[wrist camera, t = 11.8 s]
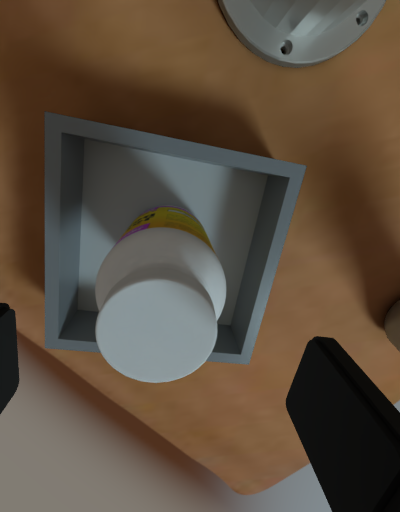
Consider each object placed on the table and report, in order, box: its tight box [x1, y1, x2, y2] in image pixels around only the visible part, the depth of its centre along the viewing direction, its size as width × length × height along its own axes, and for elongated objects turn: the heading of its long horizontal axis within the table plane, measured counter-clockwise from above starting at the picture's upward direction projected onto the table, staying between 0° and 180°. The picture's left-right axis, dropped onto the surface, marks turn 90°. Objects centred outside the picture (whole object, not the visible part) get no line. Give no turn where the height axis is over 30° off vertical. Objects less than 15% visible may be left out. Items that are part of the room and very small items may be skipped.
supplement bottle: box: [95, 205, 226, 383], centre depth 16 cm, size 7×7×13 cm
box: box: [45, 111, 307, 364], centre depth 21 cm, size 16×16×5 cm
